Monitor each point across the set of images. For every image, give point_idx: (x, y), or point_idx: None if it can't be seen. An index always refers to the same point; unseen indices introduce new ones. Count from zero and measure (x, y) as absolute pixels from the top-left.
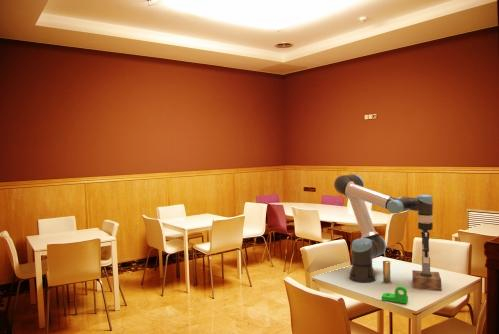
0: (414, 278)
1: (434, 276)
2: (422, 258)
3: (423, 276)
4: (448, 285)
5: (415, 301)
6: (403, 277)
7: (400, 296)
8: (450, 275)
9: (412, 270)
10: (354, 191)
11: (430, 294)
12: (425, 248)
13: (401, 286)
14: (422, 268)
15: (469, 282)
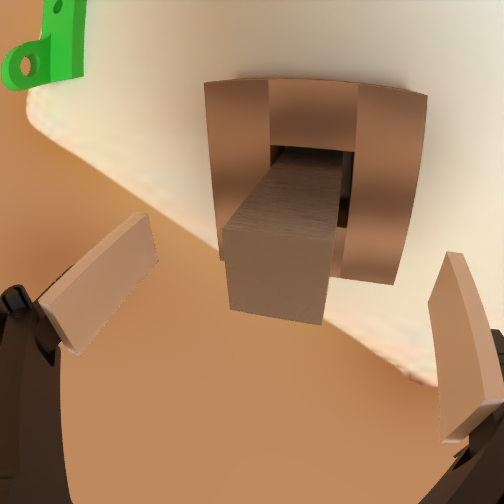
0: (206, 91)
1: None
2: (223, 229)
3: (259, 160)
4: None
5: (74, 107)
6: (458, 44)
7: (33, 64)
8: (493, 319)
9: (419, 94)
10: None
11: (169, 166)
12: (37, 352)
13: (5, 73)
14: (263, 176)
15: (394, 359)
